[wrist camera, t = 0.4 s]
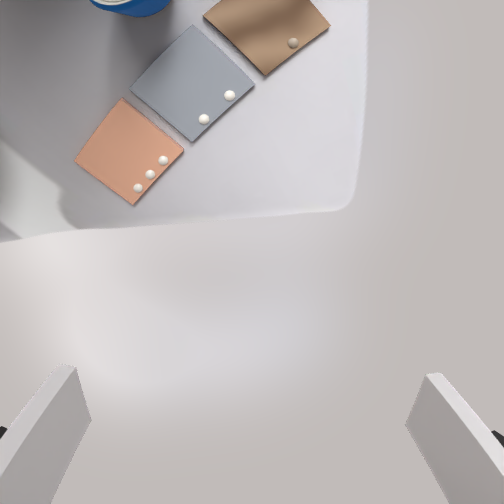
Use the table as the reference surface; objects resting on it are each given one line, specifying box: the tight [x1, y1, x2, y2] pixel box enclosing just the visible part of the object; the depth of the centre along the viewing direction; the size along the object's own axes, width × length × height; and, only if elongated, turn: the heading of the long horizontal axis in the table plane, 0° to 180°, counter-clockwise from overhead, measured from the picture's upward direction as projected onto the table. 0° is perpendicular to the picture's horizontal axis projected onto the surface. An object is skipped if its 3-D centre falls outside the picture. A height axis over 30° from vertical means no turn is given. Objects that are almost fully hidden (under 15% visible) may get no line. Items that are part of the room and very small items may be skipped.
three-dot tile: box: [74, 98, 184, 205], centre depth 35 cm, size 10×10×1 cm
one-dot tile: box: [203, 0, 331, 76], centre depth 27 cm, size 10×10×1 cm
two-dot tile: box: [129, 25, 255, 142], centre depth 31 cm, size 10×10×1 cm
